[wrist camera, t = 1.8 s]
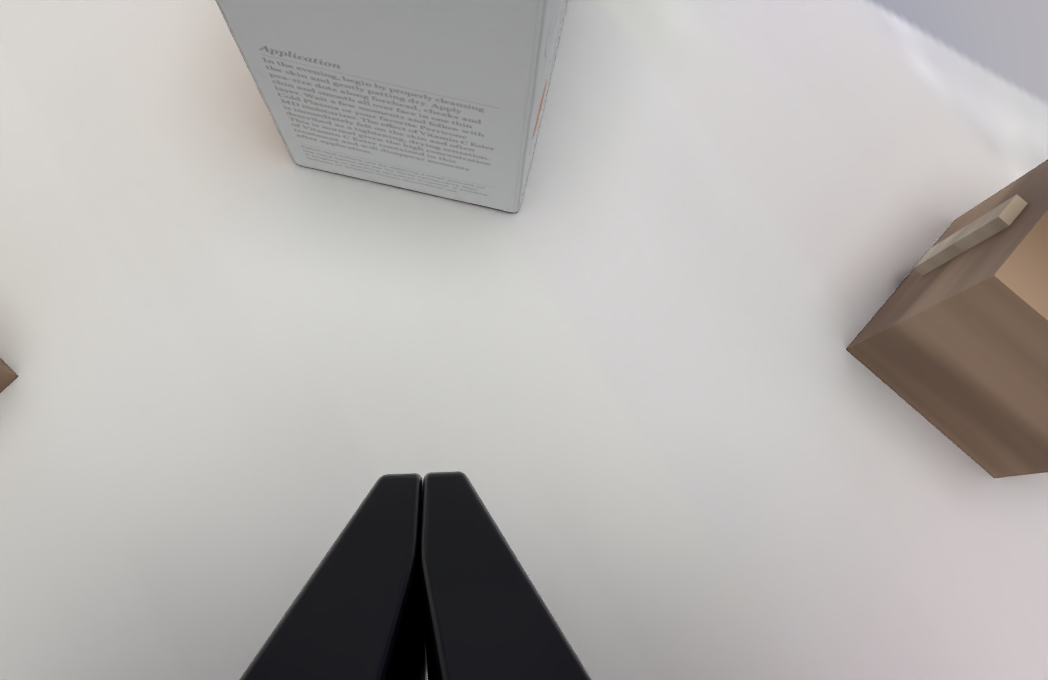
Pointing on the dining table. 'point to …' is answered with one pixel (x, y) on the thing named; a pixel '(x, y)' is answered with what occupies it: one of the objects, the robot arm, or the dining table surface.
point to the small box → (406, 87)
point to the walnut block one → (976, 331)
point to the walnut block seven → (6, 375)
